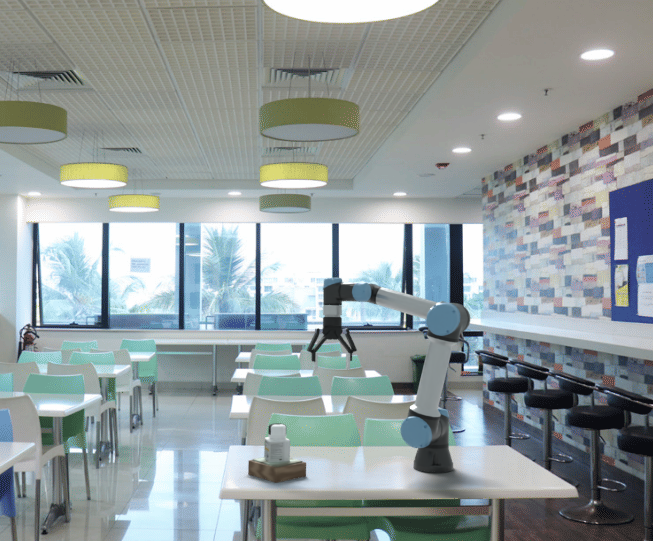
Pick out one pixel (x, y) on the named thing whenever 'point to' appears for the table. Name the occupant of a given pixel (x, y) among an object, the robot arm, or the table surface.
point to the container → (277, 444)
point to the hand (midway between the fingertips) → (331, 369)
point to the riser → (277, 469)
